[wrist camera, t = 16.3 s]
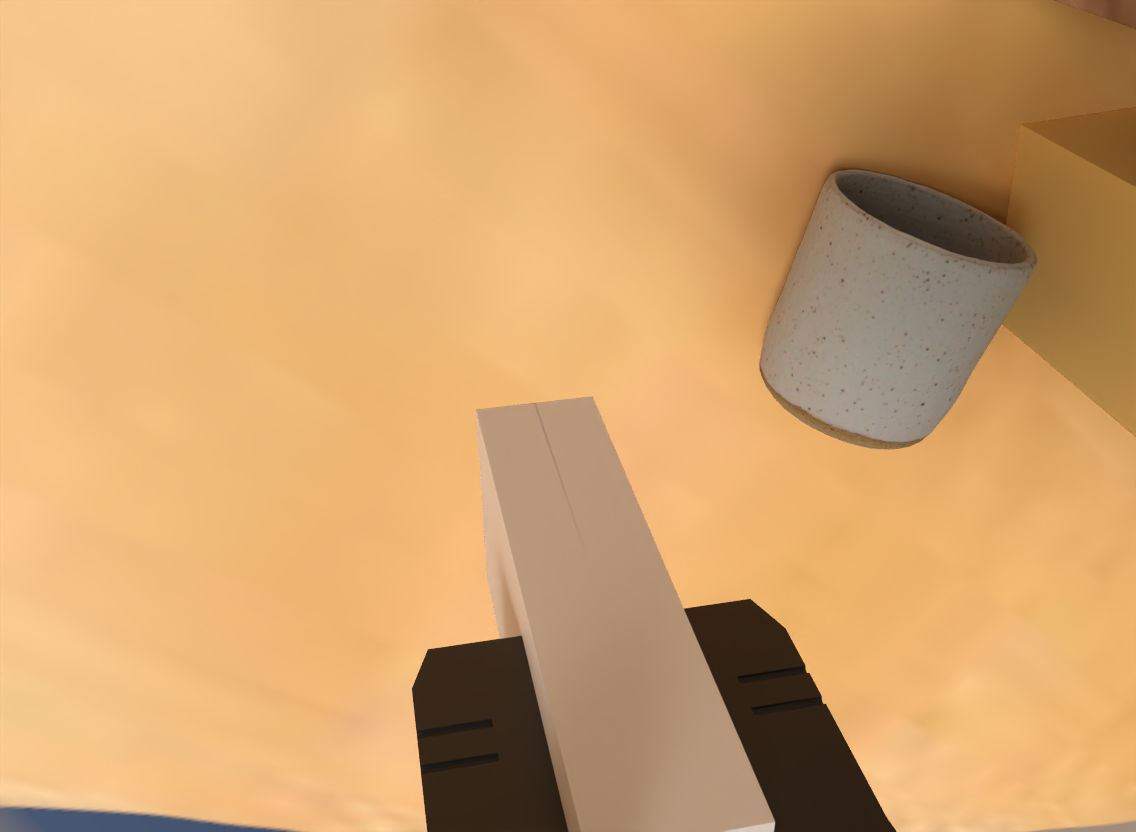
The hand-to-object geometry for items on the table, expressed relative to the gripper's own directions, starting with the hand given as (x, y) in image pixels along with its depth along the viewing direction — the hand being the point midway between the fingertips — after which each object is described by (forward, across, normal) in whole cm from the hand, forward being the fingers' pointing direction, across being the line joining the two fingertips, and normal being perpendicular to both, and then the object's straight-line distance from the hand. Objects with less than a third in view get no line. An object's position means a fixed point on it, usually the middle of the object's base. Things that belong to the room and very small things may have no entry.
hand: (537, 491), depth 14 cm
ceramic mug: (+25, +18, -9) cm, 32 cm away
